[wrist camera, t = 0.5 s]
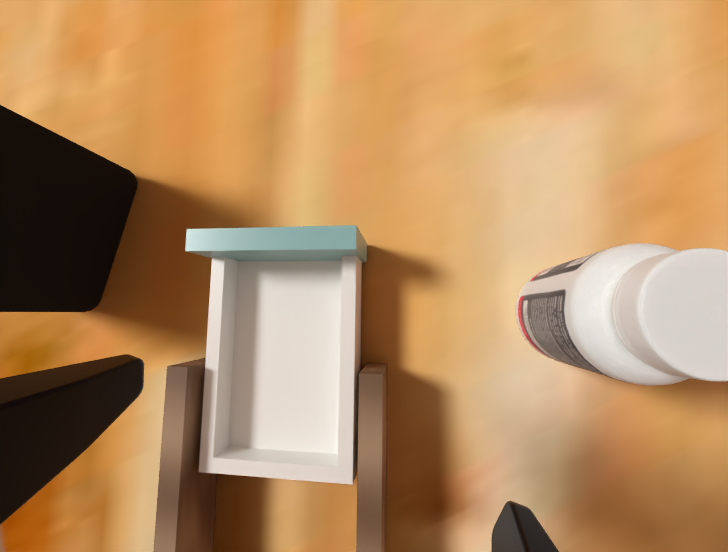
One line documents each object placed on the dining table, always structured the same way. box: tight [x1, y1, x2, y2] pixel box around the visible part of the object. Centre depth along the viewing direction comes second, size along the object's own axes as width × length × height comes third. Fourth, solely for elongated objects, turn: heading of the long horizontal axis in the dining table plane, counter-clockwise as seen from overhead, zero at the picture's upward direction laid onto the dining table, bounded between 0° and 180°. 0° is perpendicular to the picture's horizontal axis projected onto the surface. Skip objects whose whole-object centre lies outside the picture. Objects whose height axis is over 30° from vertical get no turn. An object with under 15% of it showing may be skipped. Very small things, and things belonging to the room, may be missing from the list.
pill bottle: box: [515, 243, 728, 386], centre depth 15 cm, size 5×5×10 cm
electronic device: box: [0, 105, 137, 312], centre depth 19 cm, size 4×10×10 cm, turn 165°
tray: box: [185, 225, 367, 484], centre depth 19 cm, size 13×9×4 cm
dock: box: [154, 358, 387, 552], centre depth 19 cm, size 14×12×4 cm
